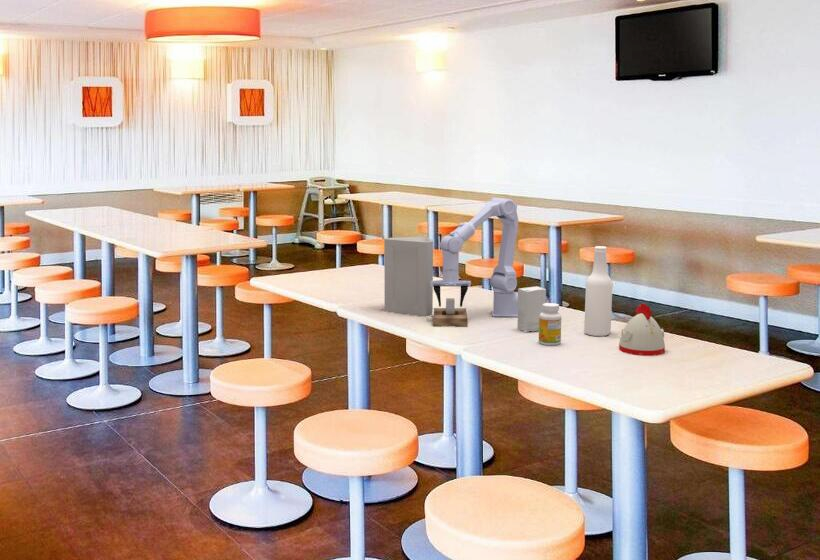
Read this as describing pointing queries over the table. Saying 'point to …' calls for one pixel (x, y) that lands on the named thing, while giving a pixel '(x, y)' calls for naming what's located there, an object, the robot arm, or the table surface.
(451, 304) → the brushed metal block
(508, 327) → the table surface
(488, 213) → the robot arm
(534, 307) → the skincare box
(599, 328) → the alcohol
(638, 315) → the kitchen timer
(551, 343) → the supplement bottle
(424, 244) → the tall grey carton
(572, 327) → the table surface
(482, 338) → the table surface
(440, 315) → the well block
